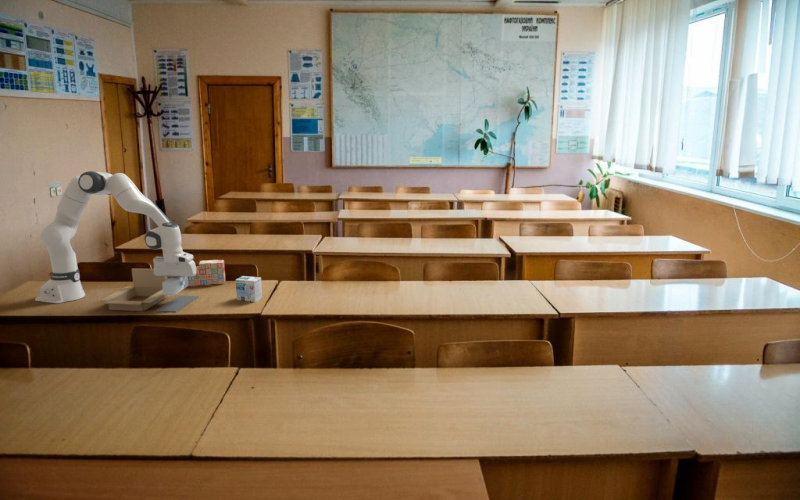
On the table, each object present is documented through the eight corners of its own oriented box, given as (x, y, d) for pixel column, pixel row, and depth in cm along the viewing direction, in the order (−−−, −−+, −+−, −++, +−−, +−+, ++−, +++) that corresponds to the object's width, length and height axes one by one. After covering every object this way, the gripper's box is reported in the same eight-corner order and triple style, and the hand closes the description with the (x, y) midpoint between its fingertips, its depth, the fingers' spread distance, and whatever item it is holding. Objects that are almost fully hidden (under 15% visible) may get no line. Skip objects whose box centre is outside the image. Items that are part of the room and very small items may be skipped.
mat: (155, 311, 277) (155, 310, 276) (179, 296, 298) (179, 295, 298) (176, 312, 275) (176, 311, 275) (198, 297, 296) (198, 296, 296)
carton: (97, 311, 278) (93, 282, 274) (128, 294, 302) (124, 268, 298) (148, 313, 274) (144, 284, 271) (175, 296, 298) (172, 269, 295)
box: (163, 294, 278) (161, 278, 276) (179, 285, 292) (177, 269, 291) (173, 295, 277) (171, 278, 275) (188, 285, 292) (187, 269, 290)
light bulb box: (236, 300, 291) (234, 279, 289) (244, 296, 297) (242, 275, 295) (255, 302, 288) (254, 281, 286) (262, 298, 294) (261, 277, 292)
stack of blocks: (182, 287, 314) (180, 264, 311) (185, 283, 320) (182, 261, 317) (224, 284, 317) (222, 262, 314) (226, 281, 323) (224, 259, 320)
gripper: (149, 258, 280) (152, 286, 283) (190, 258, 277) (193, 287, 280) (156, 254, 286) (159, 282, 289) (196, 255, 283) (199, 283, 286)
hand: (176, 284), depth 285 cm, fingers closed on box, 5 cm apart
